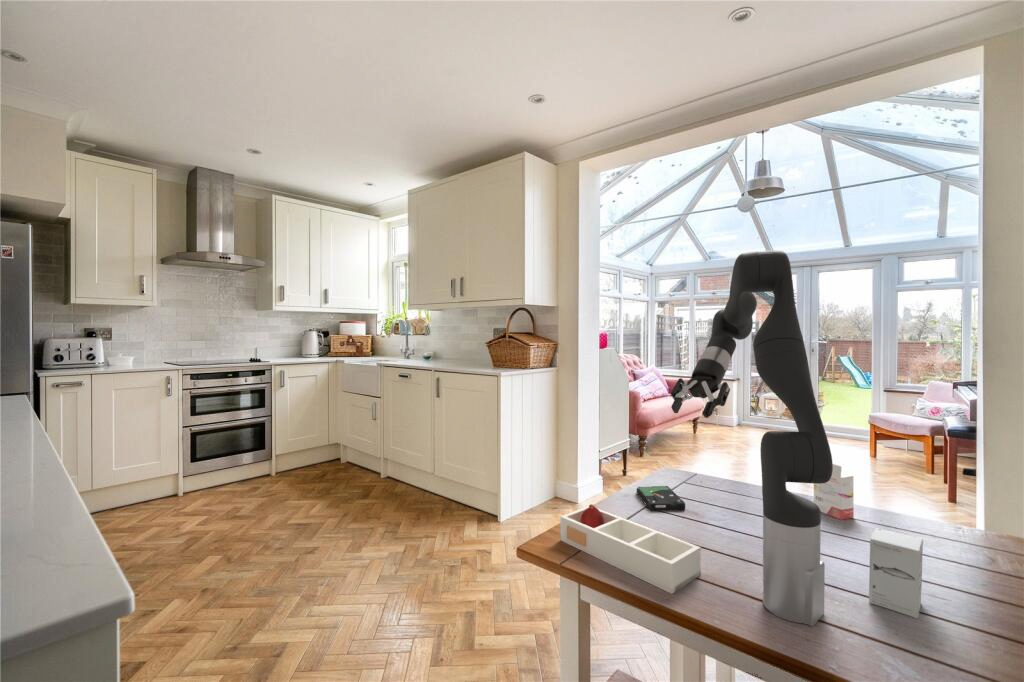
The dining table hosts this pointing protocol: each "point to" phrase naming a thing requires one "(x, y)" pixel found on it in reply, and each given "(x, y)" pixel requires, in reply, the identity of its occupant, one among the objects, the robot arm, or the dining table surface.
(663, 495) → the disk drive
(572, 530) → the compartment tray
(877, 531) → the supplement box
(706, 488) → the dining table surface
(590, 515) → the onion
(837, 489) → the ink cartridge box
